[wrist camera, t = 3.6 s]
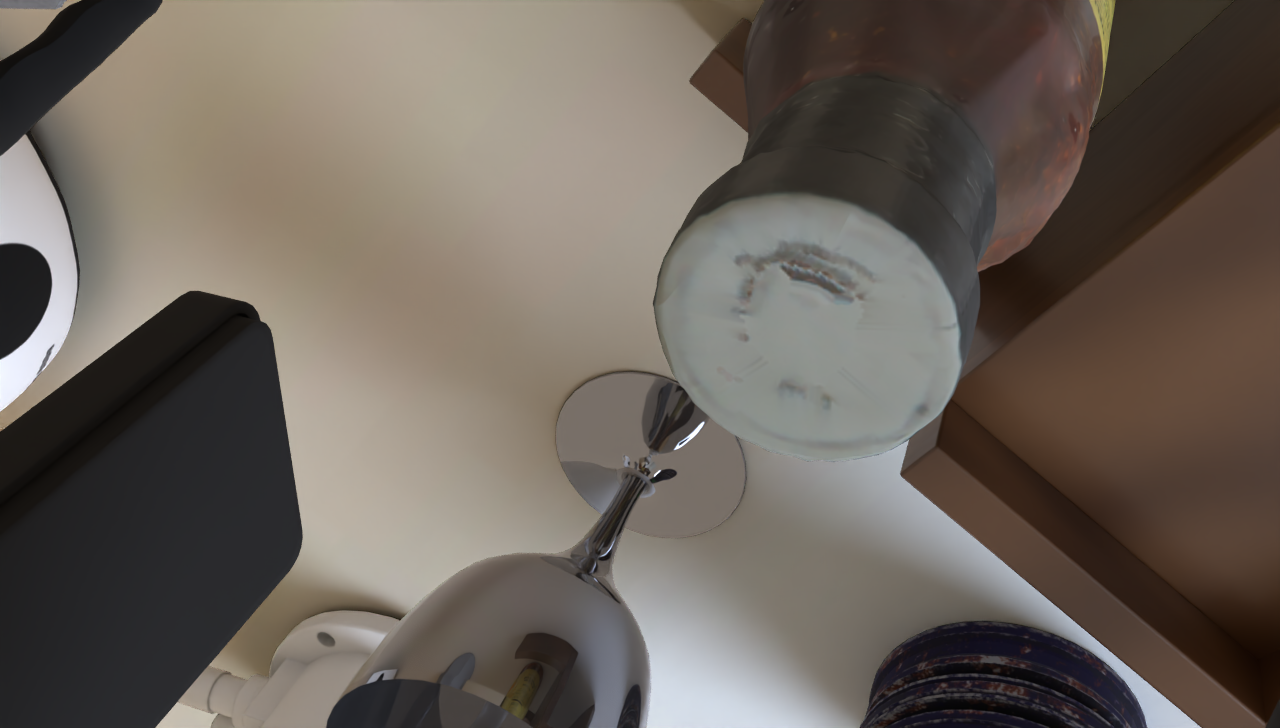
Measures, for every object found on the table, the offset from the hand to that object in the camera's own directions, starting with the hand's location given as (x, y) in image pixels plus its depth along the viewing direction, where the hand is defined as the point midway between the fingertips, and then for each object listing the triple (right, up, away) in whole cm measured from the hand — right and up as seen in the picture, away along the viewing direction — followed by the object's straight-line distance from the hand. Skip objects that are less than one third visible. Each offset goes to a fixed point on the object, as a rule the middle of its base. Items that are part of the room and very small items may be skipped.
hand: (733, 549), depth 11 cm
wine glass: (0, -2, +32) cm, 32 cm away
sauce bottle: (+8, +13, +20) cm, 25 cm away
